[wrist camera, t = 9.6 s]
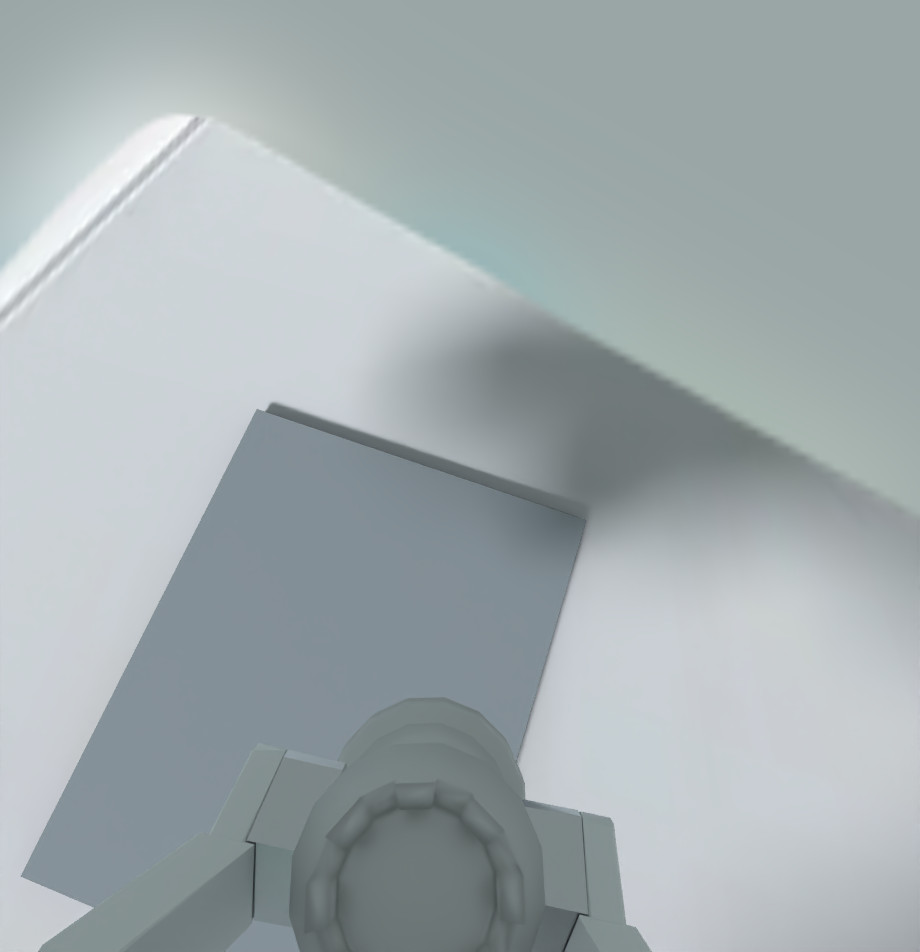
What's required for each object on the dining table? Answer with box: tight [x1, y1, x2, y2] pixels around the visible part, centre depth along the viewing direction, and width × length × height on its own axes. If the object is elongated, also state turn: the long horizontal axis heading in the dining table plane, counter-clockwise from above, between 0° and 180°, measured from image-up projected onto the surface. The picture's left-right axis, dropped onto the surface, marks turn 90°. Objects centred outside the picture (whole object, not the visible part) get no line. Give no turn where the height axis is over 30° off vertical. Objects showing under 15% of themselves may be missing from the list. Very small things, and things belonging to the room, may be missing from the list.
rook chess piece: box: [289, 697, 545, 952], centre depth 11 cm, size 4×4×8 cm
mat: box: [21, 409, 586, 952], centre depth 26 cm, size 20×16×1 cm
